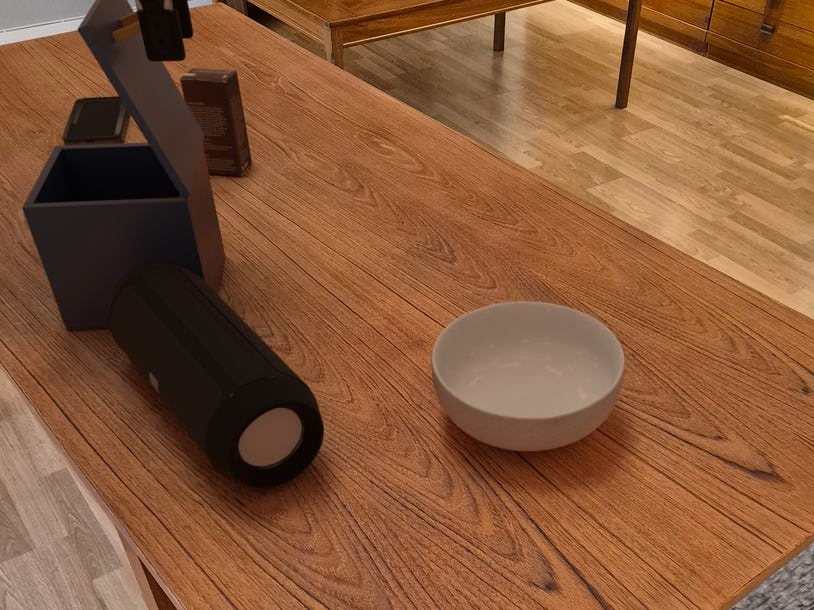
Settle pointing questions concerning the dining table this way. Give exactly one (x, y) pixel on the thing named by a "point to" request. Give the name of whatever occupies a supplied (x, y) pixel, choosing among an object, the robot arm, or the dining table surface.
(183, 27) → the robot arm
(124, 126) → the phone
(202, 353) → the portable speaker
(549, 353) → the cereal bowl
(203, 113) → the box
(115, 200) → the chest
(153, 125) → the lid
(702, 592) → the dining table surface
